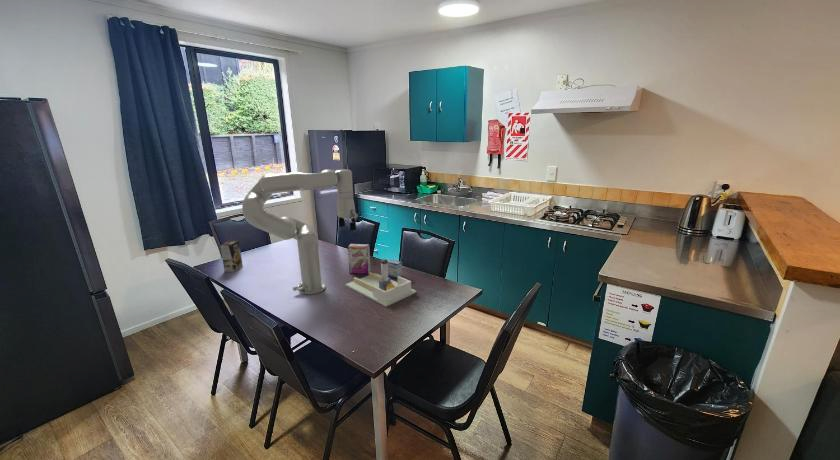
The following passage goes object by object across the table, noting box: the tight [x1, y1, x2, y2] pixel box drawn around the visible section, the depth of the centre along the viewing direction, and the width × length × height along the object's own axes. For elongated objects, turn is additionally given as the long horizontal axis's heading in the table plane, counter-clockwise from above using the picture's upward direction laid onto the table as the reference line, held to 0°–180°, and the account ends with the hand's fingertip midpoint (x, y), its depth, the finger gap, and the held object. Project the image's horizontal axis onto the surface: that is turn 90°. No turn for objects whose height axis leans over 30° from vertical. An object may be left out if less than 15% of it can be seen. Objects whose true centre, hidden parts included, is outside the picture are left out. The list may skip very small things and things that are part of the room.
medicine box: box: [387, 259, 403, 279], centre depth 190 cm, size 8×4×9 cm, turn 62°
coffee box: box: [219, 240, 243, 273], centre depth 200 cm, size 9×6×16 cm
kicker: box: [379, 259, 392, 290], centre depth 171 cm, size 6×3×15 cm, turn 136°
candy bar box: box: [347, 243, 371, 275], centre depth 194 cm, size 11×5×16 cm, turn 84°
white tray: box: [345, 271, 417, 308], centre depth 175 cm, size 20×32×6 cm, turn 46°
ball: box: [386, 284, 395, 290], centre depth 170 cm, size 4×4×4 cm
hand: (347, 228), depth 175 cm, fingers open, 9 cm apart
